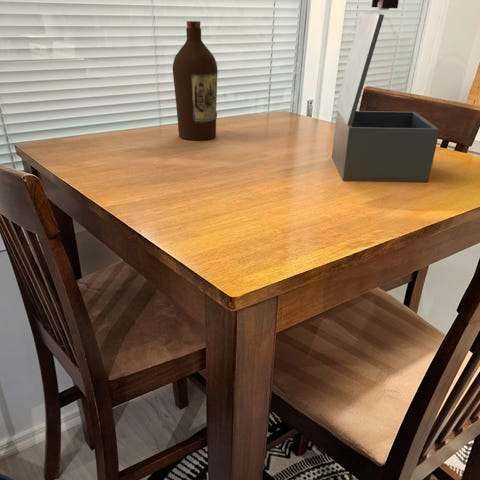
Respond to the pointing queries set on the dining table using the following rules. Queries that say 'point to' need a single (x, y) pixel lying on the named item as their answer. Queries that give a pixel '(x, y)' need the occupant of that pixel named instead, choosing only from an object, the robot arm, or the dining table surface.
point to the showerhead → (381, 6)
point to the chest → (384, 147)
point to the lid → (358, 64)
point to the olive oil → (195, 87)
